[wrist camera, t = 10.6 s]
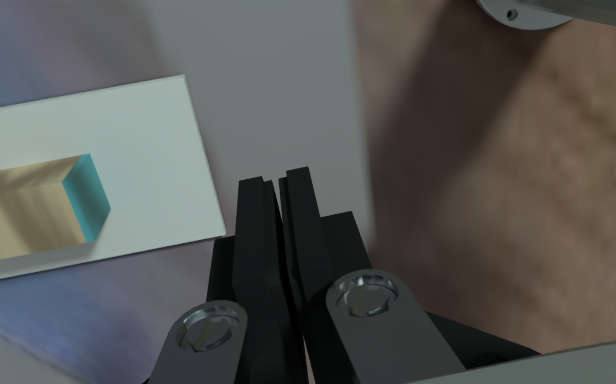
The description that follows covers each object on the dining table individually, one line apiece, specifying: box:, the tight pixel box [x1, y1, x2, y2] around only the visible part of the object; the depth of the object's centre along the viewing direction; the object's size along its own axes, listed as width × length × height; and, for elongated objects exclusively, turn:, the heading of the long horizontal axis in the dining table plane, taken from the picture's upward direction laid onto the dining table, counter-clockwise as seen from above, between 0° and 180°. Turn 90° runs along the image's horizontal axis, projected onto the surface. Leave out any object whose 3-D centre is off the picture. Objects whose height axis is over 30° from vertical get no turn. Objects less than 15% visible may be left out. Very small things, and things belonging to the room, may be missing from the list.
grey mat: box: [0, 74, 226, 279], centre depth 40 cm, size 22×14×1 cm, turn 99°
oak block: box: [0, 153, 111, 259], centre depth 37 cm, size 5×5×10 cm
